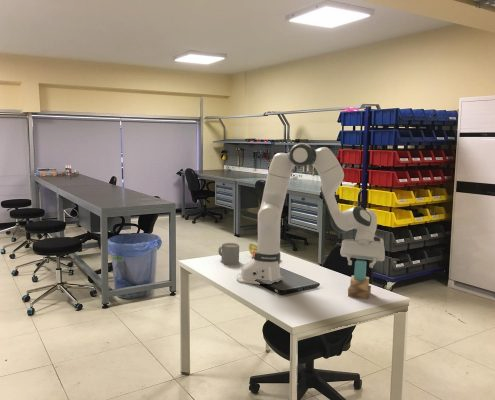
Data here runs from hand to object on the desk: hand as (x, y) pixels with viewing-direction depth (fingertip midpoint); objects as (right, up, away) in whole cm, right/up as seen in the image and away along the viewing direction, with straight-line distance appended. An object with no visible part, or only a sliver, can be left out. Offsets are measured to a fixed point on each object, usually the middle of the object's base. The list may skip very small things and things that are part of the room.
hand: (360, 265), depth 209 cm
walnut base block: (0, -14, +2) cm, 14 cm away
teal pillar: (0, -6, +1) cm, 6 cm away
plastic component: (-42, -4, +62) cm, 75 cm away
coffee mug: (-63, -5, +52) cm, 81 cm away
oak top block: (0, -10, +2) cm, 10 cm away
